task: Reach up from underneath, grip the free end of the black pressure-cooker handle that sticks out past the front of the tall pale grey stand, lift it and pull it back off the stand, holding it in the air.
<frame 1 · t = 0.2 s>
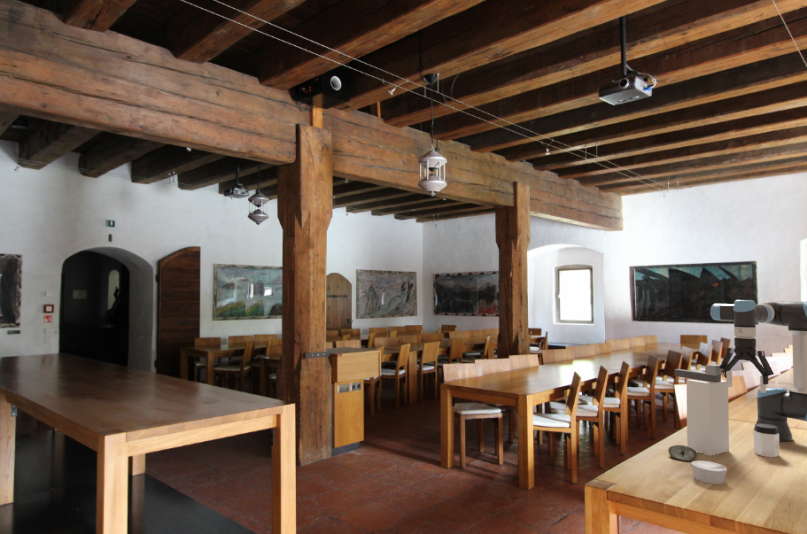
hand: (746, 389, 216), 29 cm above the table, tool pointing down, fingers open, 13 cm apart
handle bar: (697, 378, 233), point 30 cm above the table, touching stand
stand: (708, 450, 227), on the table
lid: (682, 458, 216), on the table
jar: (766, 454, 223), on the table
ramekin: (709, 480, 191), on the table
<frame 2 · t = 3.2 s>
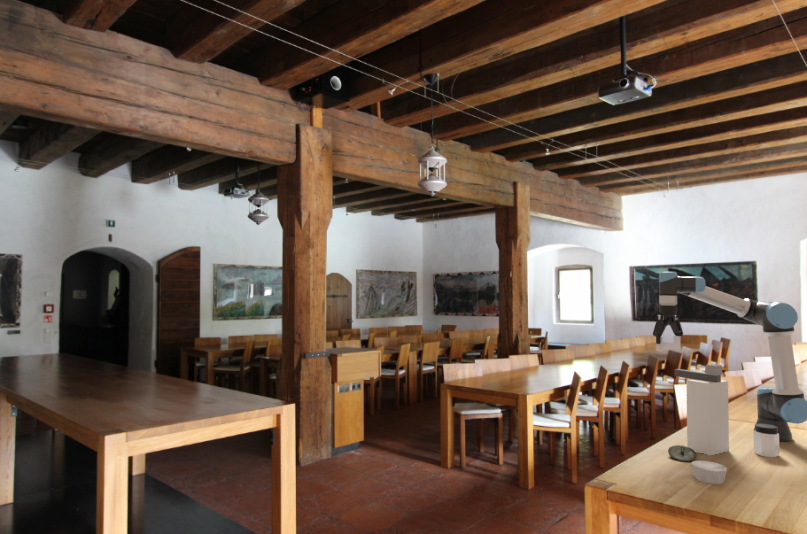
hand: (668, 350, 245), 41 cm above the table, tool pointing down, fingers open, 13 cm apart
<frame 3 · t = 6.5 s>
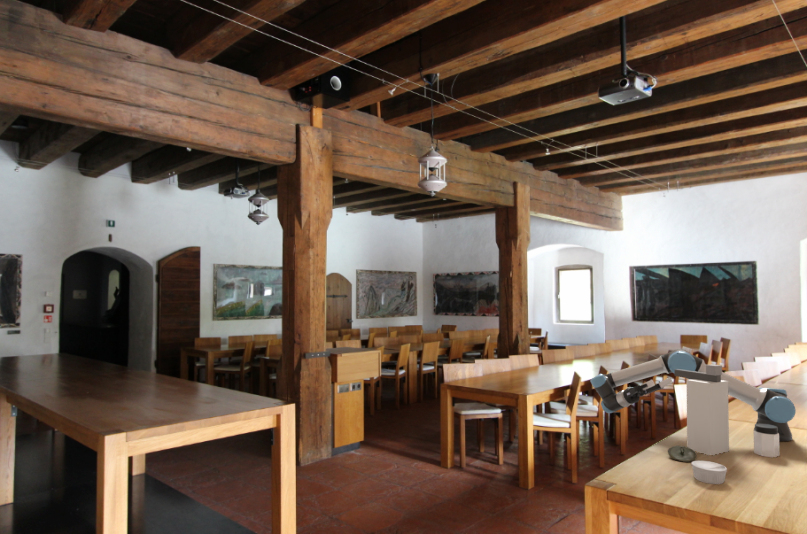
hand: (662, 381, 247), 26 cm above the table, tool pointing upward, fingers open, 13 cm apart
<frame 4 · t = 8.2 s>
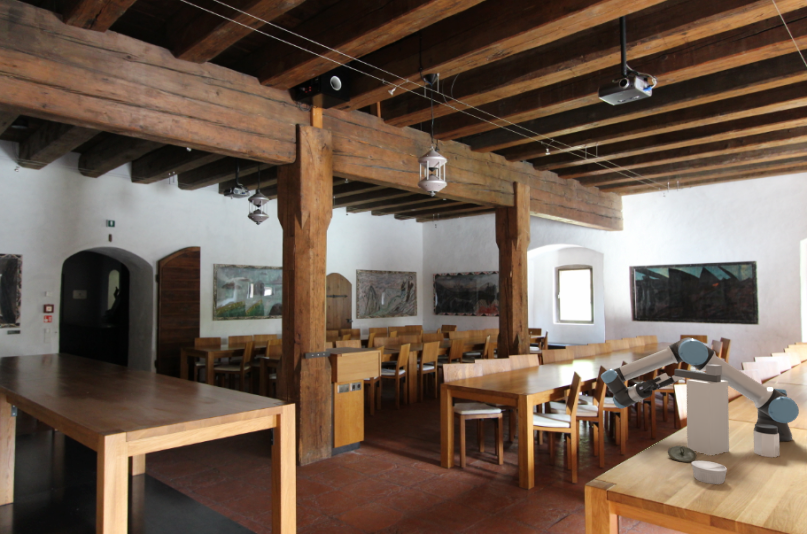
hand: (676, 374, 240), 31 cm above the table, tool pointing upward, fingers open, 13 cm apart
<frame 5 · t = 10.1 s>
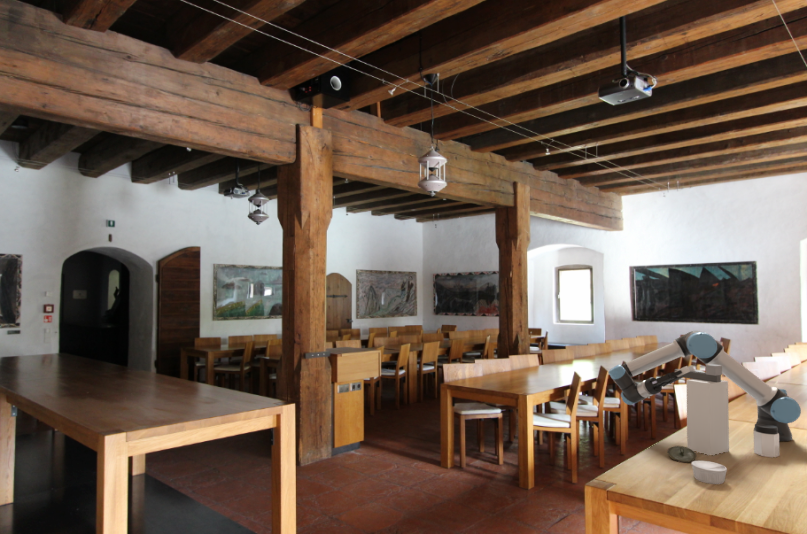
hand: (690, 368, 235), 34 cm above the table, tool pointing upward, fingers closed on handle bar, 3 cm apart
handle bar: (697, 378, 233), point 30 cm above the table, touching gripper, stand
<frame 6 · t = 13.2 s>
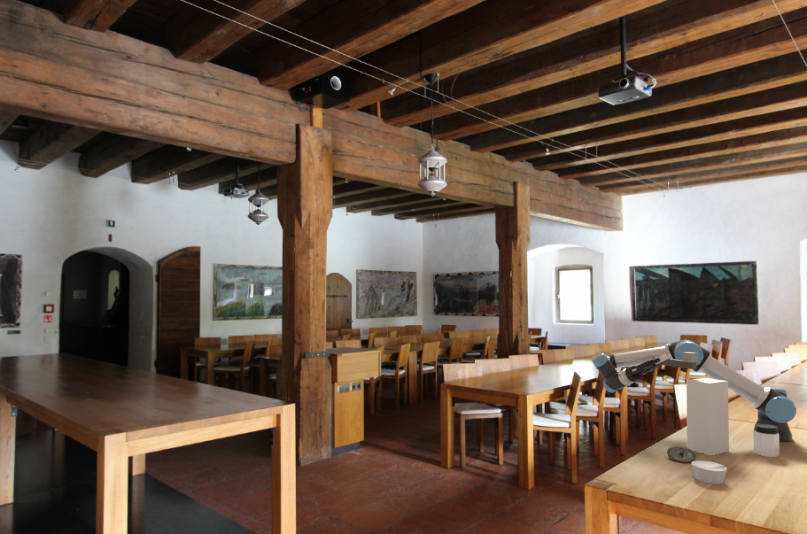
hand: (668, 356, 244), 38 cm above the table, tool pointing upward, fingers closed on handle bar, 3 cm apart
handle bar: (674, 366, 242), point 34 cm above the table, touching gripper
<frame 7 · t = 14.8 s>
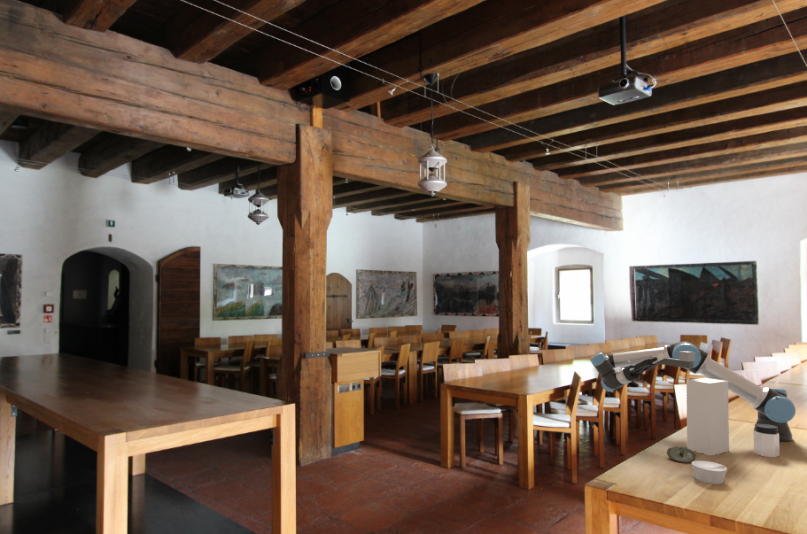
hand: (665, 355, 246), 39 cm above the table, tool pointing upward, fingers closed on handle bar, 3 cm apart
handle bar: (671, 365, 243), point 34 cm above the table, touching gripper
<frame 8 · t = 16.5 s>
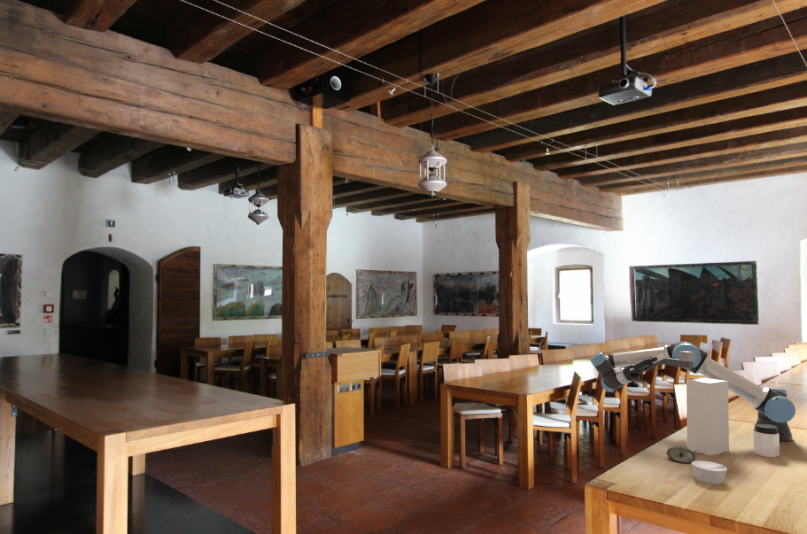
hand: (665, 355, 246), 39 cm above the table, tool pointing upward, fingers closed on handle bar, 3 cm apart
handle bar: (671, 365, 243), point 34 cm above the table, touching gripper
at the end: the gripper is holding handle bar; handle bar moved 12.8 cm from its start; handle bar point 34.5 cm above the table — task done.
